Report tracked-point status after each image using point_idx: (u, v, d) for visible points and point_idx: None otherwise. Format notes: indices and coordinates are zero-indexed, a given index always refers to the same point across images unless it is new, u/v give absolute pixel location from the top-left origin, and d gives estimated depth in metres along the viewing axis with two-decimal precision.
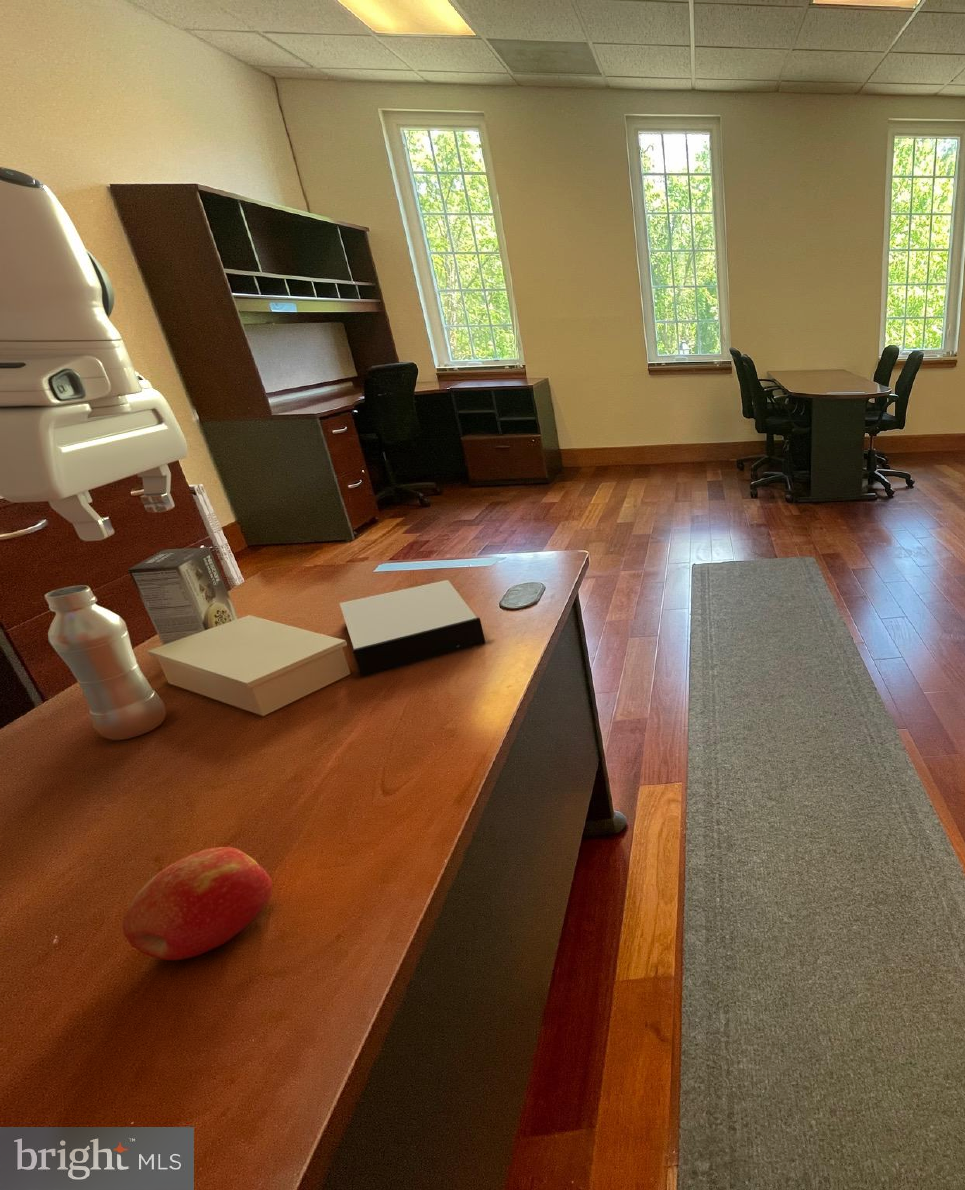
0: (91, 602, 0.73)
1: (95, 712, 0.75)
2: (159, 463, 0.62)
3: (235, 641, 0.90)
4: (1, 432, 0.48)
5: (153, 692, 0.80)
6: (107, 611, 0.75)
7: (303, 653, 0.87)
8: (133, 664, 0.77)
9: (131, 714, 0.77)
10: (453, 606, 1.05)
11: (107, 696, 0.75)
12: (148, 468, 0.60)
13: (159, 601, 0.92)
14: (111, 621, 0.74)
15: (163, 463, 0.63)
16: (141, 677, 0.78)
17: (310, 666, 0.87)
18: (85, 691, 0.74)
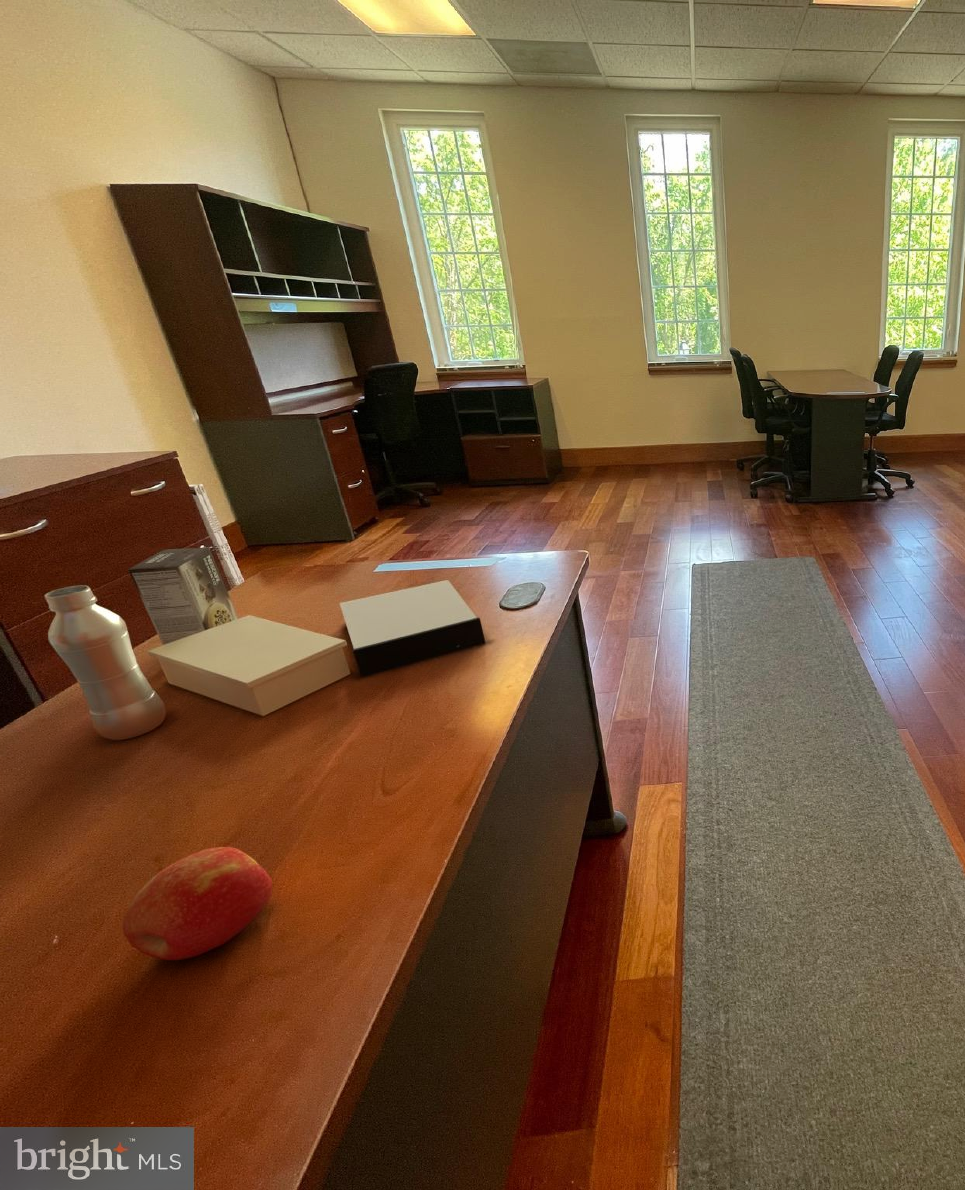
0: (91, 602, 0.73)
1: (95, 712, 0.75)
2: None
3: (235, 641, 0.90)
4: None
5: (153, 692, 0.80)
6: (107, 611, 0.75)
7: (303, 653, 0.87)
8: (133, 664, 0.77)
9: (131, 714, 0.77)
10: (453, 607, 1.05)
11: (107, 696, 0.75)
12: None
13: (159, 601, 0.92)
14: (111, 621, 0.74)
15: None
16: (141, 677, 0.78)
17: (310, 666, 0.87)
18: (85, 691, 0.74)
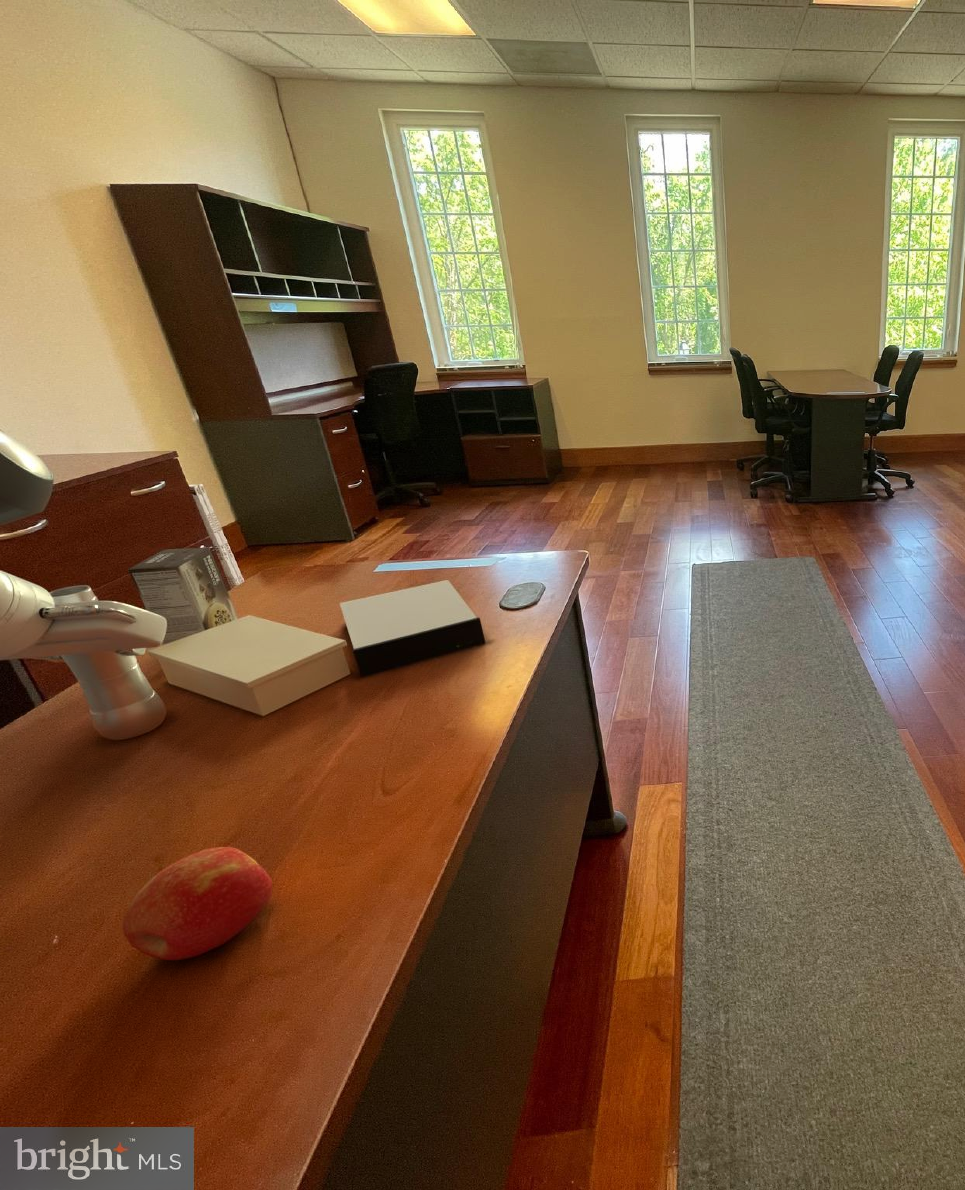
0: None
1: (95, 712, 0.75)
2: None
3: (235, 641, 0.90)
4: None
5: (153, 692, 0.80)
6: None
7: (303, 653, 0.87)
8: (134, 664, 0.77)
9: (131, 714, 0.77)
10: (453, 606, 1.05)
11: (107, 696, 0.75)
12: None
13: (159, 601, 0.92)
14: None
15: (113, 650, 0.72)
16: (141, 677, 0.78)
17: (310, 666, 0.87)
18: (85, 691, 0.74)
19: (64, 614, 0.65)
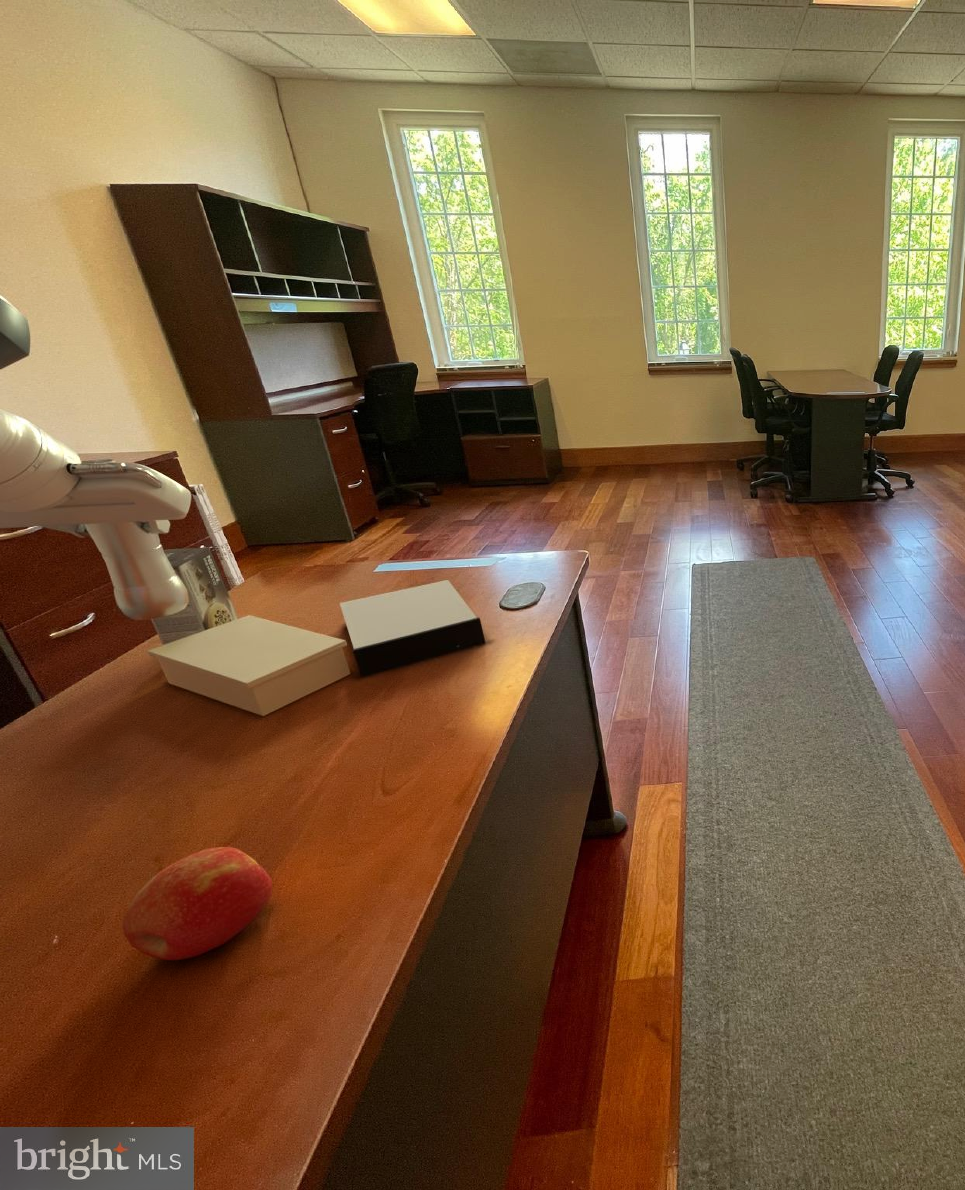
0: None
1: (119, 589, 0.75)
2: (130, 521, 0.71)
3: (235, 641, 0.90)
4: None
5: (176, 576, 0.80)
6: None
7: (303, 653, 0.87)
8: (157, 544, 0.77)
9: (155, 593, 0.76)
10: (453, 606, 1.05)
11: (131, 572, 0.75)
12: (111, 522, 0.71)
13: None
14: None
15: None
16: (165, 558, 0.78)
17: (310, 666, 0.87)
18: (110, 566, 0.74)
19: (91, 470, 0.65)
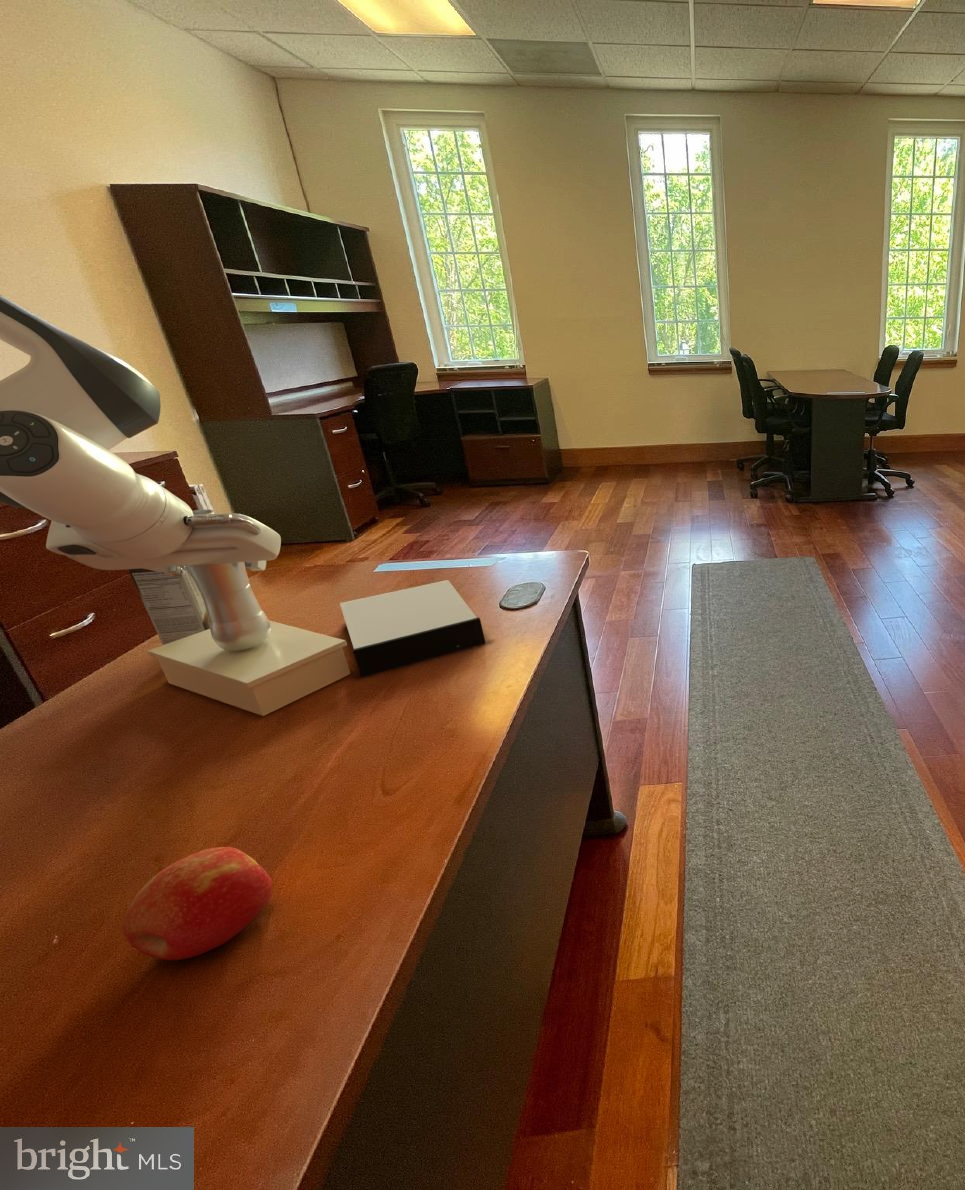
0: None
1: (215, 624, 0.85)
2: (229, 562, 0.81)
3: None
4: None
5: (261, 610, 0.89)
6: None
7: (303, 653, 0.87)
8: (247, 583, 0.86)
9: (245, 627, 0.86)
10: (453, 606, 1.05)
11: (226, 609, 0.84)
12: (212, 563, 0.80)
13: (159, 601, 0.92)
14: None
15: (235, 562, 0.81)
16: (253, 595, 0.87)
17: (310, 666, 0.87)
18: (208, 604, 0.84)
19: (204, 522, 0.74)
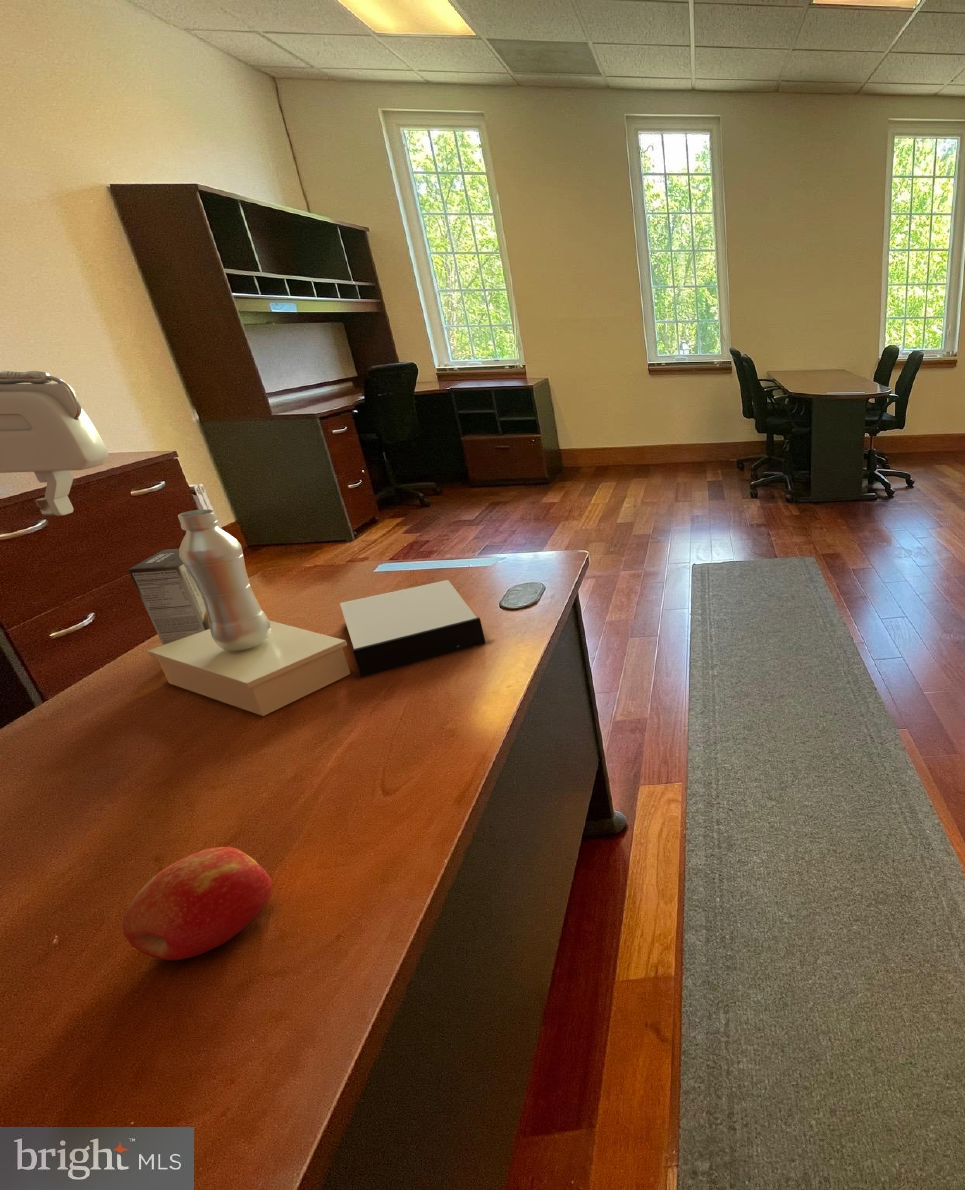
0: (216, 524, 0.82)
1: (215, 624, 0.85)
2: (12, 469, 0.59)
3: None
4: None
5: (261, 610, 0.89)
6: (227, 533, 0.84)
7: (303, 653, 0.87)
8: (247, 583, 0.86)
9: (245, 627, 0.86)
10: (453, 606, 1.05)
11: (227, 609, 0.84)
12: None
13: (159, 601, 0.92)
14: (231, 542, 0.83)
15: (22, 470, 0.59)
16: (253, 595, 0.87)
17: (310, 666, 0.87)
18: (208, 604, 0.84)
19: (8, 375, 0.57)
